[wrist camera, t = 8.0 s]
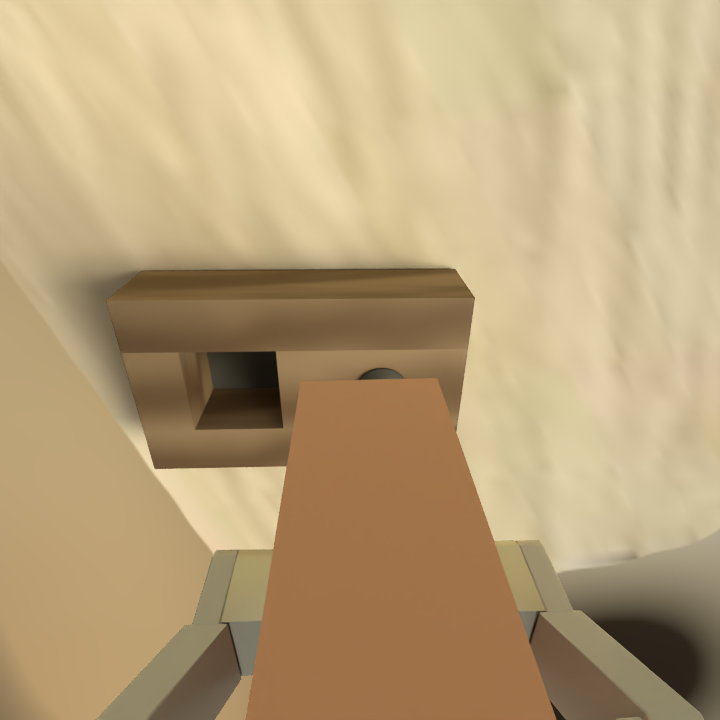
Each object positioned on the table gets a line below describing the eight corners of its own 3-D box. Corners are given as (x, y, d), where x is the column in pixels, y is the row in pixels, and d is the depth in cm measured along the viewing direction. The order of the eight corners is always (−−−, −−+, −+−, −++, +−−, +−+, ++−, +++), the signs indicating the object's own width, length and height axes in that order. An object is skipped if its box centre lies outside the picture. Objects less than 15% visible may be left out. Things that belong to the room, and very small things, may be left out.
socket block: (141, 270, 29) (104, 302, 24) (455, 269, 29) (475, 299, 25) (178, 423, 35) (153, 470, 30) (438, 418, 35) (452, 464, 31)
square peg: (300, 381, 13) (213, 916, 4) (437, 378, 13) (618, 898, 4) (309, 483, 15) (261, 996, 6) (428, 479, 15) (543, 982, 6)
